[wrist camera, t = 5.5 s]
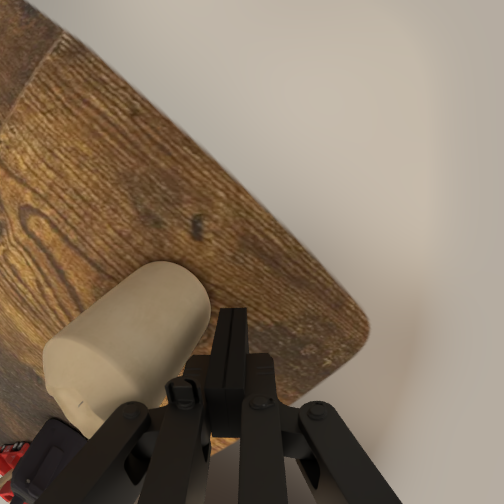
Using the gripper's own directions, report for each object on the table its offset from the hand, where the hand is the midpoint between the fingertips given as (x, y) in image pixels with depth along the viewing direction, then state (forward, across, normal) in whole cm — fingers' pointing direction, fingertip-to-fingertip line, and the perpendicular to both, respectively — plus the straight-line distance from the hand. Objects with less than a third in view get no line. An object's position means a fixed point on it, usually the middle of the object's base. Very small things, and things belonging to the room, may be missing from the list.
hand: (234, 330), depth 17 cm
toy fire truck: (+4, -28, -22) cm, 36 cm away
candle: (+3, -4, +1) cm, 5 cm away
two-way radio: (+4, -18, -14) cm, 23 cm away
